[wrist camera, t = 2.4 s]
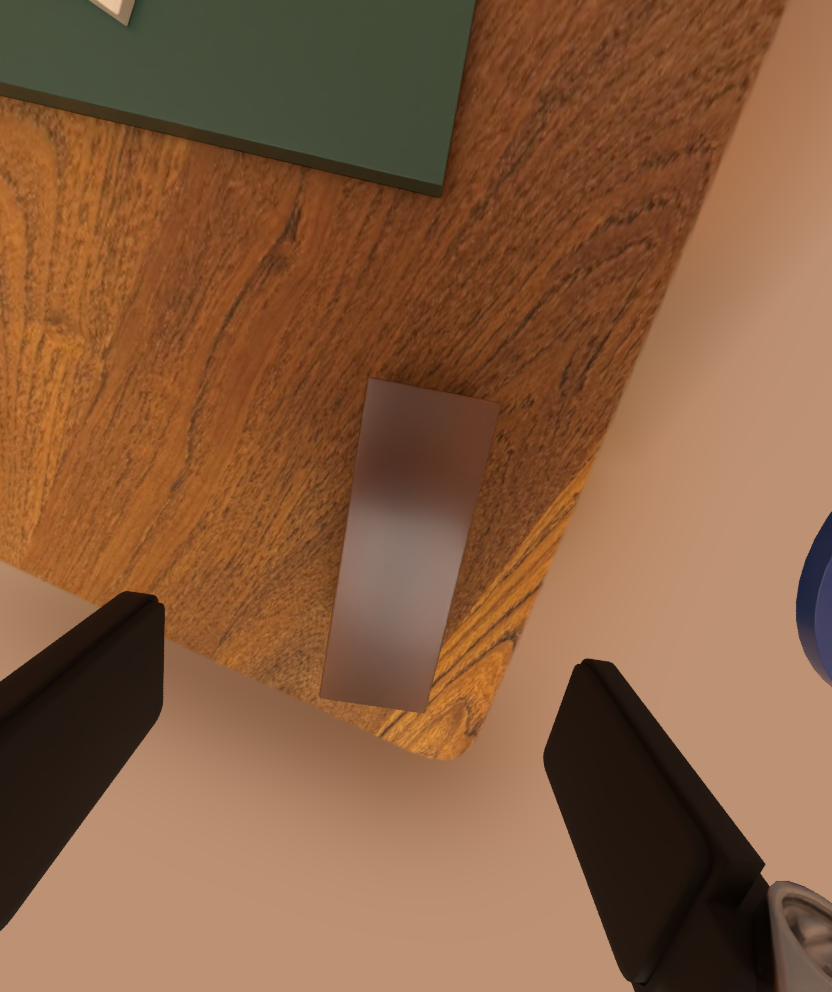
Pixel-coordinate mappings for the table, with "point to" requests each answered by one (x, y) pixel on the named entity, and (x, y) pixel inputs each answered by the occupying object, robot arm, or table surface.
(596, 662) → the robot arm
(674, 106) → the table surface
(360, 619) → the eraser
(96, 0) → the chalk mark
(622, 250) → the table surface
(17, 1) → the chalkboard
